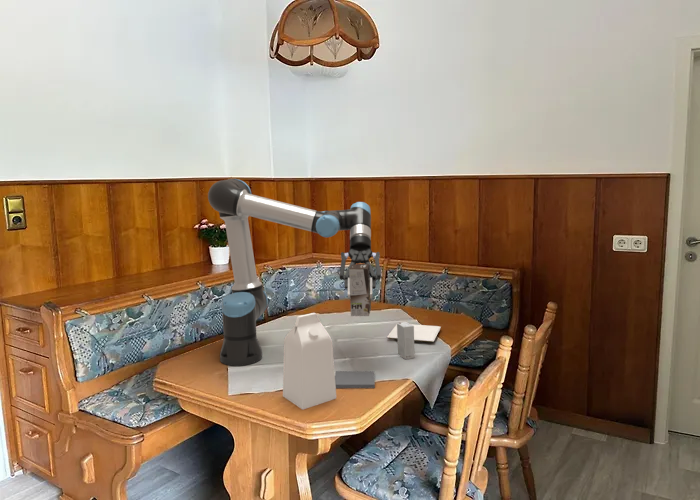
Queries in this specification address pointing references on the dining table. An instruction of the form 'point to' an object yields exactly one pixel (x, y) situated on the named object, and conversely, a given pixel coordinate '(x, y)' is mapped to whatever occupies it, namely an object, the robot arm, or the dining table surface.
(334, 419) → the dining table surface
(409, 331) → the skincare box
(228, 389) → the dining table surface
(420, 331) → the plate
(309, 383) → the milk
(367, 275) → the coffee box
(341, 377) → the mat
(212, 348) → the dining table surface
